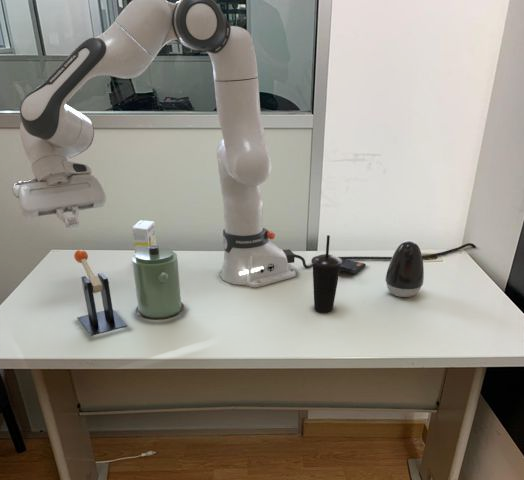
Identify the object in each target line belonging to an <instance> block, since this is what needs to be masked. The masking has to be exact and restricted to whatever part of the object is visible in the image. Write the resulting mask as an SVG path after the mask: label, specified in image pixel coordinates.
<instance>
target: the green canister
mask: <svg viewBox="0 0 524 480" xmlns="http://www.w3.org/2000/svg"><path fill="white" fill-rule="evenodd" d="M178 260H179V259H178V254H177V252H174V251H173V250H172V249H171V248H170V247H164V246H158V244H156V245H152V246H149V248H144V249H141V250H139V251H137V252H136V253H135V252H134V254H133V256H132V257H131V262H132V271H133V280H134V287H135V293H136V302H137V306H136V309H135V314H136V315H137V316H138V317H140V318H142V319H145V320H151V321H163V320H168V319H172V318H175V317H177V316H179V315H181V314H182V313H183V312H184V311H185V305H184V303H183V302H182V298H181V297H182V296H181V284H180V283H181V282H180V272H179V262H178Z"/></svg>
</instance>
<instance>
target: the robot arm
mask: <svg viewBox="0 0 524 480" xmlns="http://www.w3.org/2000/svg"><path fill="white" fill-rule="evenodd" d="M171 41H175V42H177V43H178V44H180V45H182V46H184V47H185V48H187V49H189V50H191V51H192V50H193V51H203V52H206V53H207V54H208V56H209V58H210V62H211V65H212V75H213V84H214V94H215V95H214V96H215V104H216V105H215V106H216V114H217V118H218V121H219V125H220V130H221V134H222V135H221V136H222V139H221V140H220V141H219V142H218V144H217V147H216V160H217V164H218V165H217V168H218V175H219V184H220V190H221V195H222V203H223V204H222V206H223V225H224V227H223V229H222V246H223V251H224V252H223V262H222V269H221V272H220V278H221V279H222V280H223V281H224V282H226V283H229V284H232V285H238V286H248V287H250V288H259V287H263V286H266V285H270V284H274V283H277V282H281V281H285V280H289V279H292V278H294V277H296V269H295V268H294V267H293V266H292V265H291V264H293V263H295V259H296V258H297V259H299V260H301V262H302V266H303V267H304V268H305V269H310V268H313V264H312V263H311V264H310V265H307V263H306V260H305V258H304V256H301V255H299V254H296V253H294V252H293V251H292V250H291V249H282V248H280V247H278V245H277V244H275V243H274V242H272V240H274V239H275V238H276V237H275V236H276V233H274V231H273V232H272V231H271V230H269V229H267V228H265V227H264V201H263V197H262V193H261V189H260V185H263V184H264V182H266V181H267V180H268V179H269V177H270V174H271V172H272V160H271V158H270V154H269V151H268V150H269V149H268V145H267V138H266V133H265V128H264V124H263V118H262V112H261V101H260V100H261V99H260V87H259V85H260V84H259V73H258V72H259V71H258V63H257V62H258V61H257V56H256V50H255V45H254V43H253V41H254V40H253V38H252V35H251V33H250V32H249V31H248V30H246V29H245V28H243V27H241V26H237V25H230V23H229V21H228V20H227V18H226V17H225V15H224V13H223V11H222V9H221V7H220V6H219V4H218V3H217V1H215V0H177V1H175V2H170V1H168V0H131V1H130V2H129V3H128V4H127V5H126V7H125V8H123V10H122V11H121V12H120V13H119V15H118V16H117V17H116V19H115V21H114V22H112V24H111V25H110V26H109V27H108V29H106V30H105V31H104V32H102V33H101V34H100V35H98V36H96V37H89V38H87V39H85V41H83V42H82V43H80V44H79V45H78V46H77V47H76V48H75V49H74V50H73V51H72V52H71V53H70V54H69V55H68V56H67V57H66V58H65V60H63V62H61V64H59V66H58V67H57V68H56V69H55V70H54V71H53V72H52V73H51V74H50V75H49V76H48V77H47V79H45V80H44V82H43V83H41V84H40V85H39V86H38V87H36V88H35V89H33V90H32V91H30V92H29V93H28V94H27V95H25V97H24V98H23V99H22V100H21V103H20V108H19V116H20V120H21V122H20V125H19V134H20V140H21V142H22V146H23V150H24V152H25V155H26V157H27V159H28V160H29V161H30V163H31V164H30V166H31V171H32V173H33V177H34V178H30V179H26V180H18V181H16V182H15V183H14V184H13V185H12V186H11V190H12V192H13V195H14V196H15V198H16V199H18V205H19V209H20V212H21V215H22V217H24V218H25V219H33V218H39V217H47V216H54V215H56V217H57V219H59V220H60V221H61V222H62V223H64V226H65V229H69V228H75V227H76V228H77V227H79V226H80V222H79V219H78V217H79V211H84V210H91V209H92V210H93V209H96V208H103V207H104V206H105V204H106V202H107V195H106V192H105V190H104V188H103V186H102V184H101V182H100V181H99V179H98V178H97V177H96V176H95V175H94V174H92V168H91V166H90V165H89V164H86V163H80V162H74V161H71V160H68V159H72V158H74V157H76V156H79V155H80V154H82V153H84V152H85V151H87V150H88V149H89V148H90V147H91V146H92V144H93V141H94V137H95V129H94V124H93V122H92V120H91V119H90V118H89V117H88V116H86V115H85V114H83V113H82V112H80V111H78V110H77V109H75V108H73V107H71V106H70V105H68V104H67V103H68V102H69V101H70V100H71V98H73V96H74V95H75V94H77V92H78V91H79V90H80V89H81V88H82V87H83V86H84V85H85V84H86V83H87V82H88V81H89V80H90V79H92V78H95V77H98V76H100V77H101V76H107V77H113V78H118V79H123V80H124V79H125V80H127V79H128V80H129V79H135V78H137V77H139V76H140V75H142V74H143V73H144V72H146V70H147V69H148V68H149V66H150V65H151V64H152V63H153V61H154V60H155V58H156V57H157V56H158V54H159V53H160V52H161V50H162V48H163V47H164V46H166V44H168V43H169V42H171ZM66 213H71V215H73V217H67V216H66V215H65V214H66ZM270 240H271V241H270ZM466 247H472V248H473V249H476V248H477V246H476V245H475V244H474V243H472V242H467V243H465V244H463V245H460V246H458V247H455V248H451V249H448V250H444V251H441V252H436V253H430V254H422V258H423V259H426V258H427V259H428V258H433V257H439V256H443V255H446V254H450V253H454V252H458V251H459V250H462V249H464V248H466ZM338 257H339V258H341V259H346V260H389V261H391V259H392V257H393V256H338Z"/></svg>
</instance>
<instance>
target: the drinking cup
mask: <svg viewBox="0 0 524 480" xmlns="http://www.w3.org/2000/svg"><path fill="white" fill-rule="evenodd" d="M330 238H331V235H330V234H329V235H326V245H325V253H323V254H319V255H315V256H313V257H312V258H311V260H310V261H311V265H312V264H313V266H312V280H313V281H312V282H313V283H312V286H313V307H314V308H313V309H314V311H315V312H317V313H319V314H329V313H332V312H333V311H334V305H335V300H336V299H335V298H336V293H337V287H338V282H339V276H340V272H341V271H340V266H341V264H342V260H341V259H340V258H339V257H340V256H336V255H335V254H334V255H333V254H330V253H329V252H330Z"/></svg>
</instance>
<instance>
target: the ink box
mask: <svg viewBox="0 0 524 480" xmlns="http://www.w3.org/2000/svg"><path fill="white" fill-rule="evenodd" d="M155 225H156V224H155V221H154V220H143V219H142V220H141V219H140V220H139V221H137V222H136V223H135V224H134V225H133V226H132V227H131V230H132V239H133V240H132V241H133V248H134V254H135V253H136V252H137V251H139V250H141V249H144V248H149V246H152V245H157V235H156V226H155Z"/></svg>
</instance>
